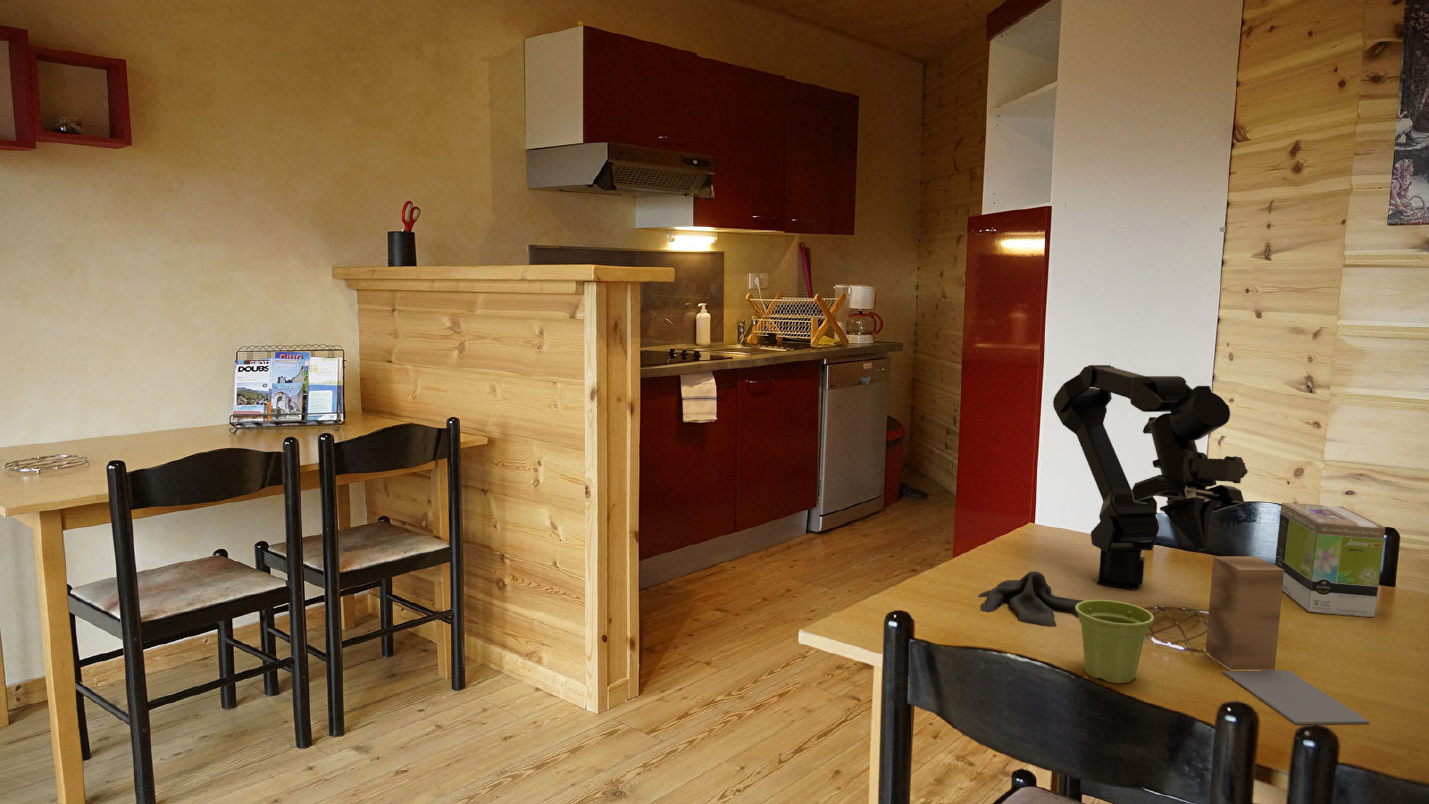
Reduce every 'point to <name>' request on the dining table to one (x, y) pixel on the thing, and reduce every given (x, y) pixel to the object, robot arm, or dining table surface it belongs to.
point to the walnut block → (1244, 612)
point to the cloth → (1029, 600)
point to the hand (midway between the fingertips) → (1201, 549)
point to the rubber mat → (1295, 697)
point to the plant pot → (1112, 638)
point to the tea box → (1330, 558)
